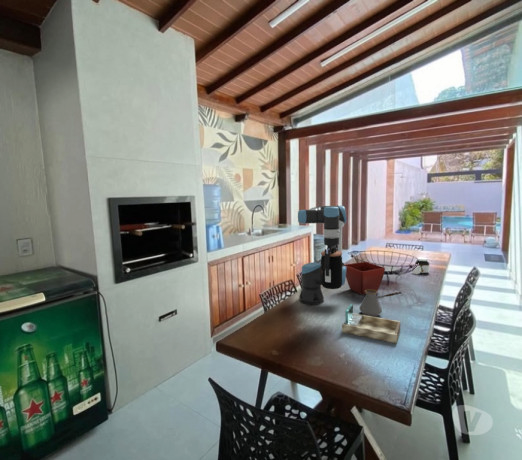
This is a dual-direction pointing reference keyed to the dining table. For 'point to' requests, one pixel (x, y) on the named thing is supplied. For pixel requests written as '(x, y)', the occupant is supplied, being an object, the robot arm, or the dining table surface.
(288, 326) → the dining table surface
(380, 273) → the plant pot
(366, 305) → the coffee pot
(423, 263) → the spread jar
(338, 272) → the coffee jar
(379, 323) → the channel
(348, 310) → the teal piece
